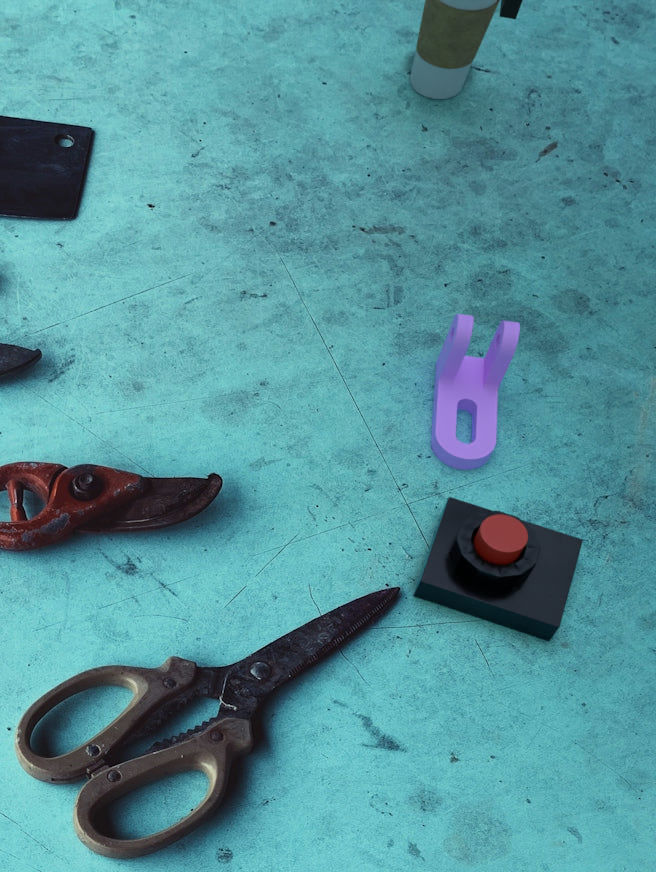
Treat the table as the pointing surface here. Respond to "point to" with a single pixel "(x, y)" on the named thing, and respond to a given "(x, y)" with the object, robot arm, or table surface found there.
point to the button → (500, 539)
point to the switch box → (499, 573)
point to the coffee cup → (448, 44)
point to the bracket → (469, 392)
